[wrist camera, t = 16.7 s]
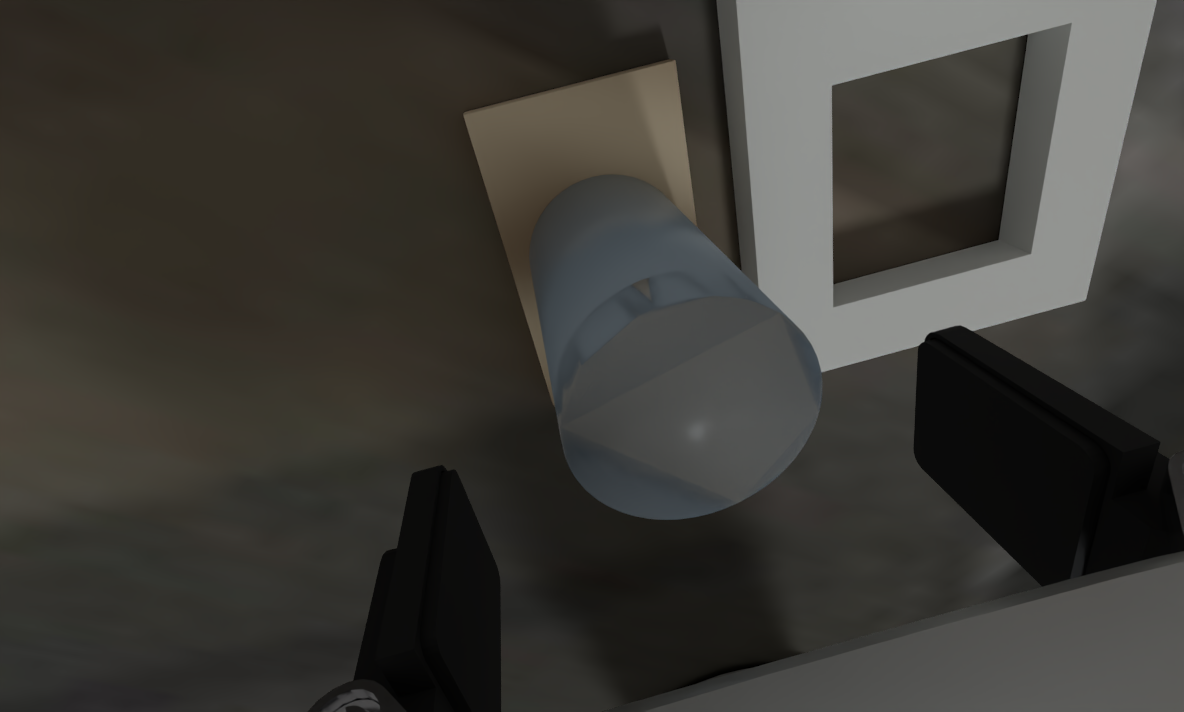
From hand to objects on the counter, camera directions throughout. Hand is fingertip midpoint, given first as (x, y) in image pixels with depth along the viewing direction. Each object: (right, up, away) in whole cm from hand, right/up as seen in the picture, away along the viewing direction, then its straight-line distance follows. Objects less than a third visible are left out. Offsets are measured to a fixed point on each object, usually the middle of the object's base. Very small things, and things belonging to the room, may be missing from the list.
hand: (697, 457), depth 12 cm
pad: (-2, +5, +8) cm, 10 cm away
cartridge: (-2, +5, +7) cm, 9 cm away
